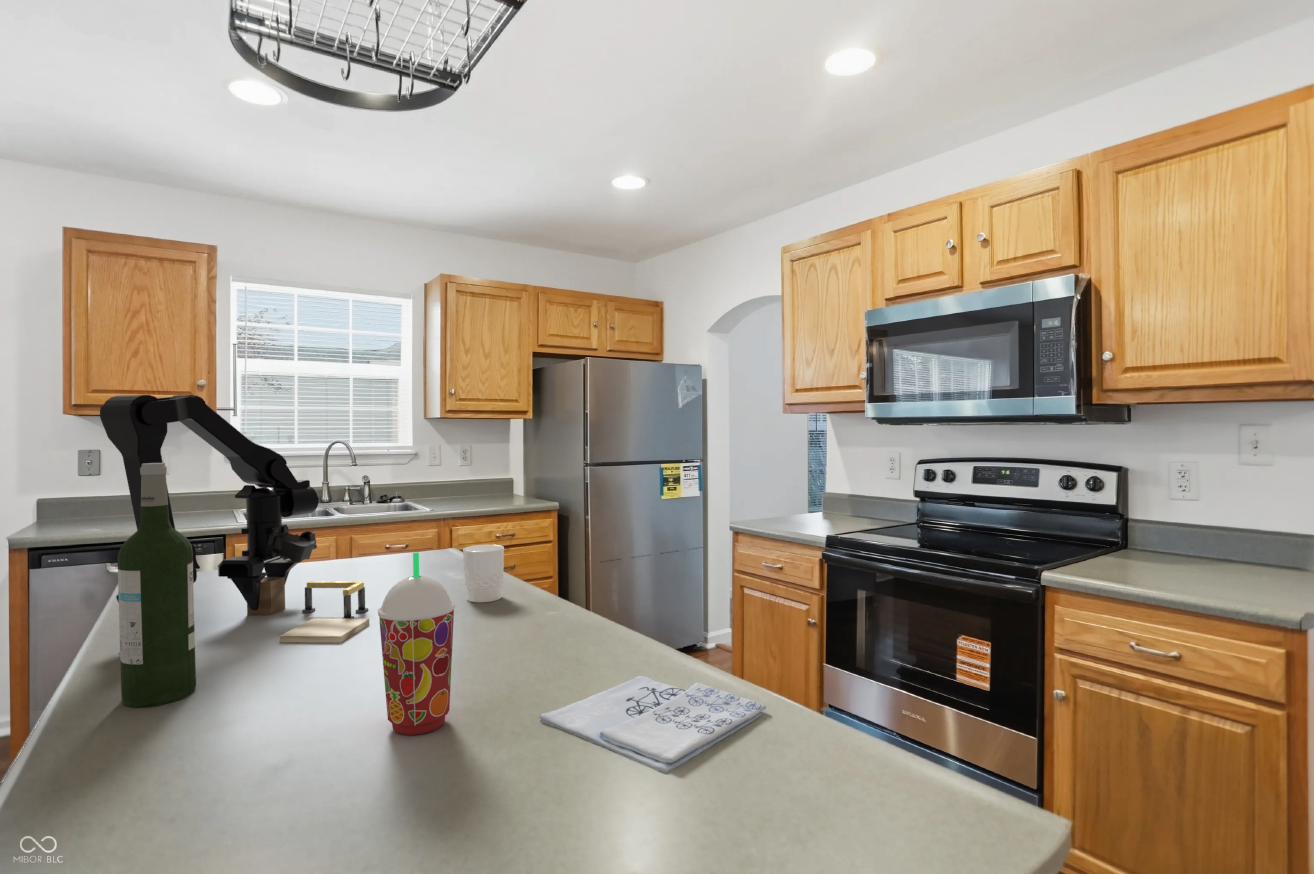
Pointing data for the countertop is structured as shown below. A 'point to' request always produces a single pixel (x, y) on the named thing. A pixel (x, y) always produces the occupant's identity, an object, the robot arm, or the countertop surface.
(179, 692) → the wine bottle
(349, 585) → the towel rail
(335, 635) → the birch pad
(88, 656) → the countertop surface
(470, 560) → the white cup
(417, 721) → the smoothie
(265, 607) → the walnut block
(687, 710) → the folded bicycle towel
